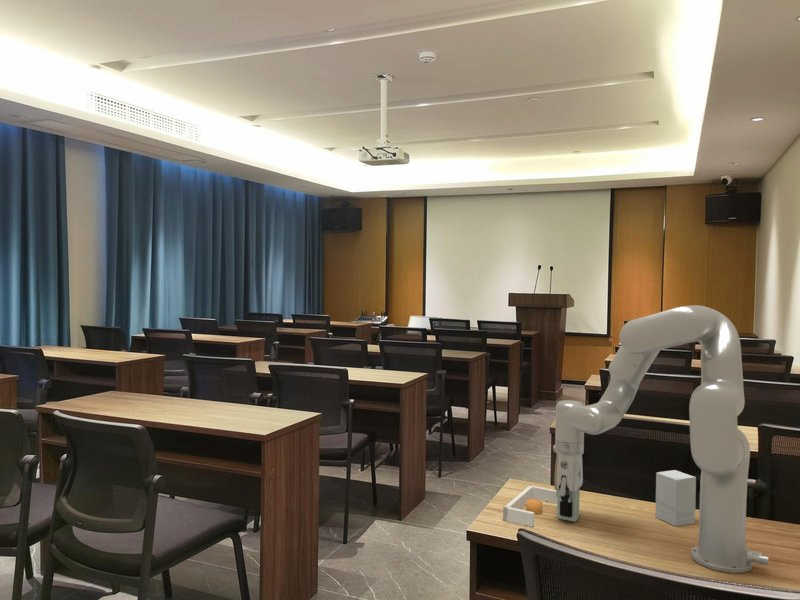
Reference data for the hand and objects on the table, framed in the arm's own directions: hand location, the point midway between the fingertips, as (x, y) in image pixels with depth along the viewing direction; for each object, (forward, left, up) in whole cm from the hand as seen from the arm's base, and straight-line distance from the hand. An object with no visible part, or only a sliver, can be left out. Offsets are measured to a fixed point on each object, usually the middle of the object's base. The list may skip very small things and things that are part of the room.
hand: (568, 512), depth 163 cm
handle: (+7, -18, -2) cm, 19 cm away
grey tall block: (0, 0, -1) cm, 1 cm away
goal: (+10, 0, -2) cm, 11 cm away
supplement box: (-25, -16, -2) cm, 30 cm away
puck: (+10, 0, -2) cm, 10 cm away
